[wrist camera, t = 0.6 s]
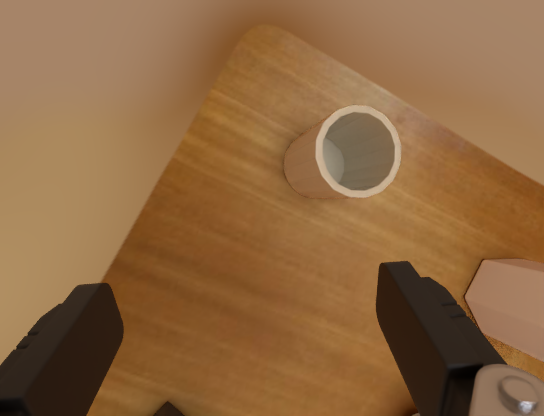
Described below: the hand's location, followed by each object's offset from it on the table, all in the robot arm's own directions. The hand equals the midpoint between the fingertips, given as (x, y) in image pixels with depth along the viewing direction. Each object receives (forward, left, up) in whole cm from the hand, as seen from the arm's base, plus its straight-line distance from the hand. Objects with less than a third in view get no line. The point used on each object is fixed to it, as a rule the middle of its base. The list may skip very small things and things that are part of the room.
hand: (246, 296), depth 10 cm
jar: (+26, +17, -20) cm, 37 cm away
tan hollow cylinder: (+2, +11, -20) cm, 22 cm away
